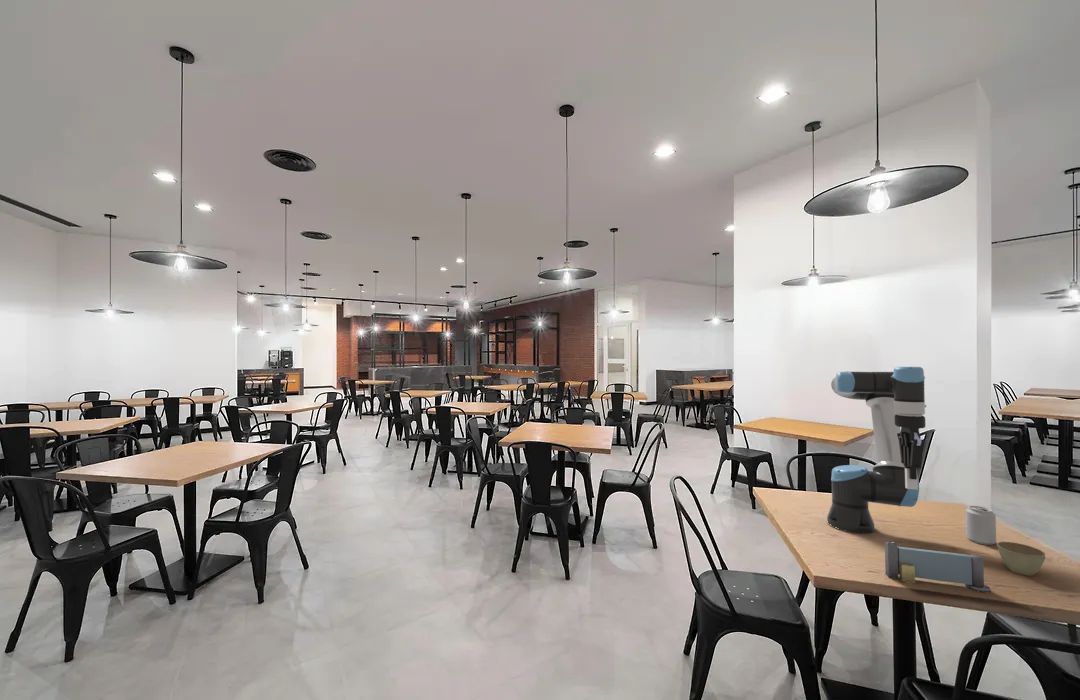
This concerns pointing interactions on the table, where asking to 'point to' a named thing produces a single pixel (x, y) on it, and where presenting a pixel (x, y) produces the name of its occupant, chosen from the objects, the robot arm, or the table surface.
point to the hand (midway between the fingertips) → (911, 488)
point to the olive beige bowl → (1021, 557)
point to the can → (981, 525)
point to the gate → (944, 565)
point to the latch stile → (892, 564)
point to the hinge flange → (978, 588)
